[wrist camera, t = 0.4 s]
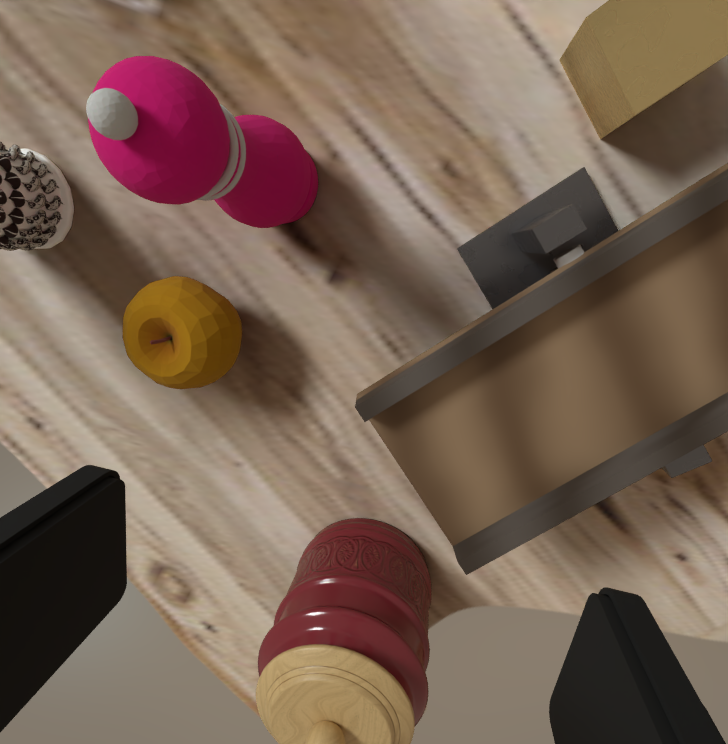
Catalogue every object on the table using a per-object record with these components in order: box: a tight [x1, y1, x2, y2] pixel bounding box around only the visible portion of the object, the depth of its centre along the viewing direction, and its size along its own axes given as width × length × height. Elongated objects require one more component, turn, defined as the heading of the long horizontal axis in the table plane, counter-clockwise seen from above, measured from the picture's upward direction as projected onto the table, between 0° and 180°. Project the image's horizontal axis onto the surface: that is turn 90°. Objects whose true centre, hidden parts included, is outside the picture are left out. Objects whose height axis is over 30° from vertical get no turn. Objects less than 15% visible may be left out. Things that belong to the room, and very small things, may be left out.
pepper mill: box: [86, 56, 318, 228], centre depth 26 cm, size 7×7×20 cm
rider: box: [560, 0, 728, 139], centre depth 27 cm, size 6×6×6 cm
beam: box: [355, 163, 728, 575], centre depth 25 cm, size 30×13×6 cm, turn 123°
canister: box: [256, 518, 431, 744], centre depth 36 cm, size 13×13×18 cm
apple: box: [123, 276, 242, 389], centre depth 36 cm, size 9×9×9 cm
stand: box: [457, 167, 712, 478], centre depth 30 cm, size 10×20×9 cm, turn 33°
